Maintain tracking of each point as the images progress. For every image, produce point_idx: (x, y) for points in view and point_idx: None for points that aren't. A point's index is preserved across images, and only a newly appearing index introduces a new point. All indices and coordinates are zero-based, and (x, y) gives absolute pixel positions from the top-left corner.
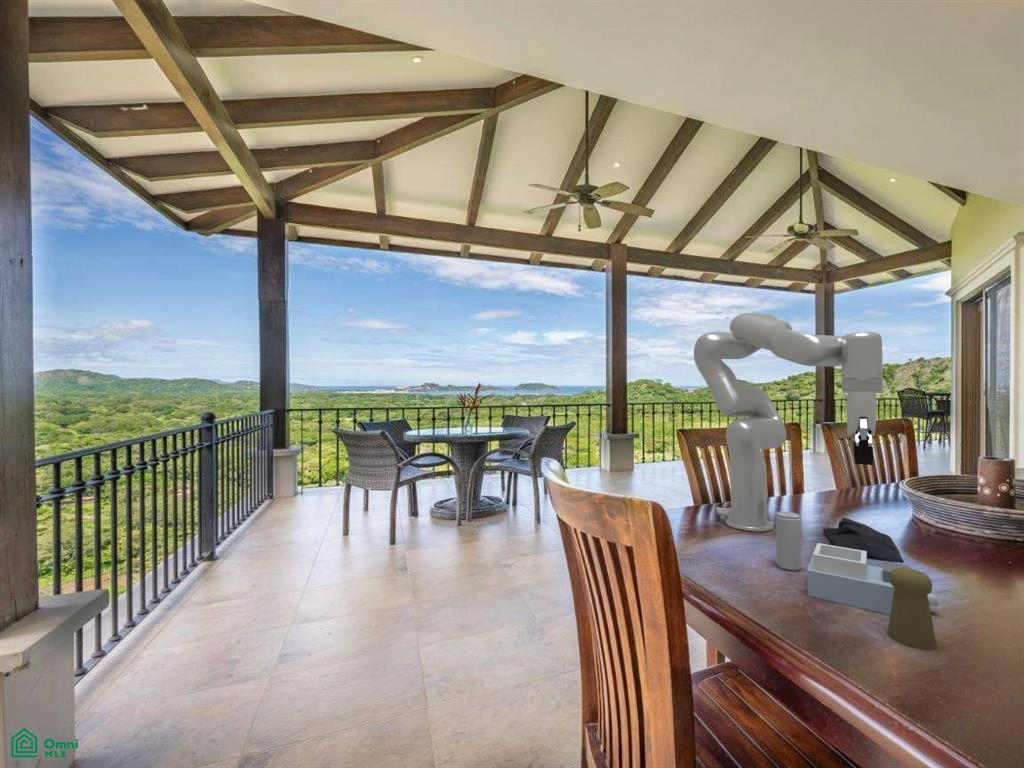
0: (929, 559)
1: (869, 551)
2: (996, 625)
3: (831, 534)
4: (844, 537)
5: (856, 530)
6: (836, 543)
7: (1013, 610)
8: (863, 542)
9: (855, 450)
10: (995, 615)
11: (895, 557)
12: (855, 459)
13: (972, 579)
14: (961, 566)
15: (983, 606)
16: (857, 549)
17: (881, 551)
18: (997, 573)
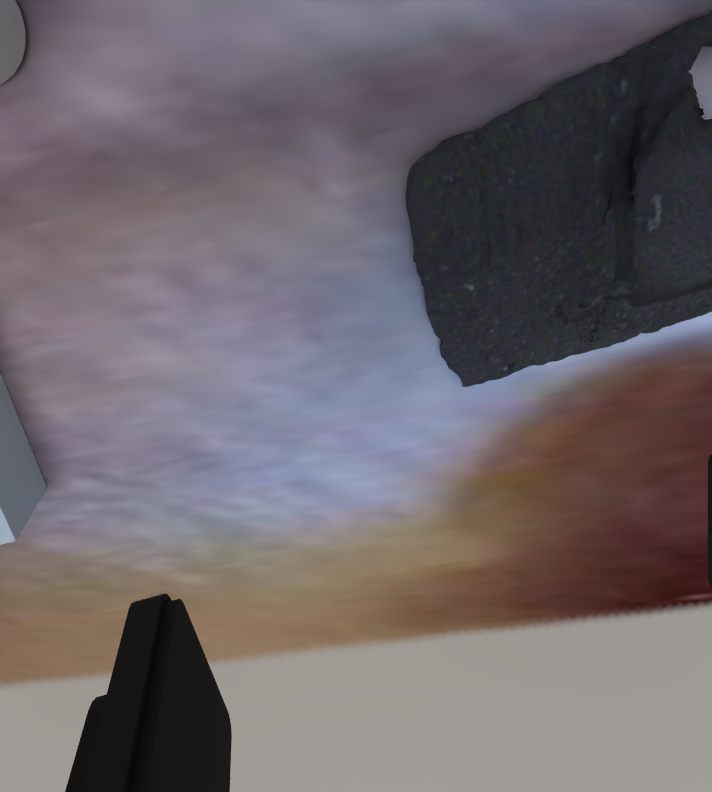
0: (571, 439)
1: (431, 289)
2: (43, 652)
3: (644, 67)
4: (557, 157)
5: (650, 196)
6: (452, 142)
7: (212, 659)
8: (468, 266)
9: (92, 766)
10: None
11: (461, 368)
12: (122, 642)
13: (426, 559)
14: (553, 519)
15: None
16: (420, 244)
17: (463, 327)
18: (546, 592)
